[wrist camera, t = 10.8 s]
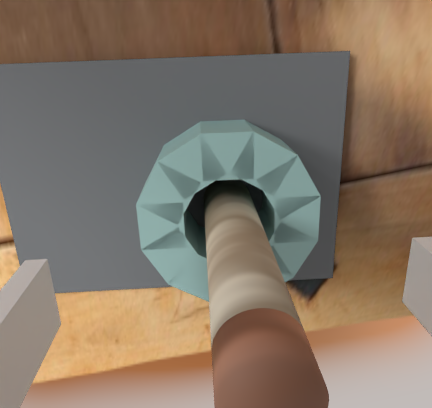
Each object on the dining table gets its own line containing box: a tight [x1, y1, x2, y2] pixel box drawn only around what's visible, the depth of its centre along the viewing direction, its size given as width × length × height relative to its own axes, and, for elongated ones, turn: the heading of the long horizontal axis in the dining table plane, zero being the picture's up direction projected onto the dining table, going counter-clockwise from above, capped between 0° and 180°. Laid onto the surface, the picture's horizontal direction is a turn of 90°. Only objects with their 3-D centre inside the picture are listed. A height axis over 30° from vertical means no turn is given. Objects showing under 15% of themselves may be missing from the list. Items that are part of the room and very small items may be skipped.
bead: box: [136, 120, 321, 302], centre depth 22 cm, size 9×9×4 cm
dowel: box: [204, 179, 329, 408], centre depth 17 cm, size 3×3×15 cm
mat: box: [0, 51, 350, 293], centre depth 23 cm, size 20×14×1 cm
